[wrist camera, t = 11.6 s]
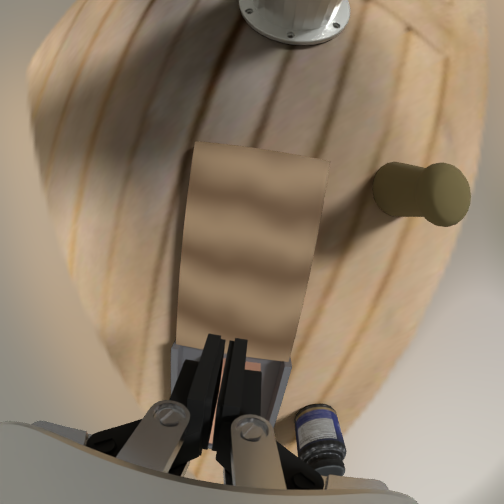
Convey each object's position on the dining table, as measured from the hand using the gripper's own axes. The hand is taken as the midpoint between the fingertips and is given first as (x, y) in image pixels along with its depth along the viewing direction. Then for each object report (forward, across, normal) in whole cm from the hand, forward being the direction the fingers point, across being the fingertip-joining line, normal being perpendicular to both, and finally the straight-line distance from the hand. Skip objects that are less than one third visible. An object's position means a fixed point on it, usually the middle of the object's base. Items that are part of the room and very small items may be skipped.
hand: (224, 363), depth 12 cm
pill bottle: (+19, -13, +23) cm, 32 cm away
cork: (+20, -15, -9) cm, 26 cm away
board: (+19, 0, +1) cm, 19 cm away
